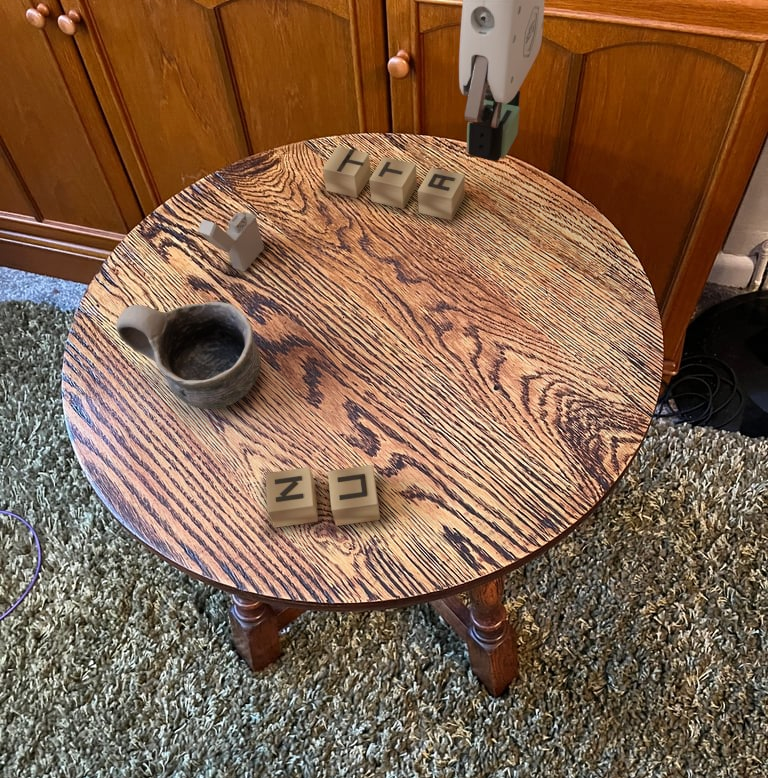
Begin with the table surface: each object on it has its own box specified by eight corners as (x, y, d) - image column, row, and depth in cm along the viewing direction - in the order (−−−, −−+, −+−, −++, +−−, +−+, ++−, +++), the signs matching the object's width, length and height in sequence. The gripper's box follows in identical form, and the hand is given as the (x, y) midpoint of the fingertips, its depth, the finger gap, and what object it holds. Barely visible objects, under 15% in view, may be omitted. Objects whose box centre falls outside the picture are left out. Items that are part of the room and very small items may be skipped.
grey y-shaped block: (252, 242, 86) (234, 181, 79) (265, 246, 86) (248, 186, 79) (216, 285, 83) (194, 226, 76) (229, 290, 83) (209, 231, 76)
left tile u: (375, 481, 70) (372, 463, 67) (380, 519, 68) (377, 503, 66) (332, 487, 70) (327, 470, 68) (336, 526, 68) (331, 509, 66)
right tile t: (417, 186, 88) (416, 162, 86) (403, 209, 87) (402, 186, 84) (385, 178, 89) (383, 155, 87) (371, 201, 88) (368, 178, 85)
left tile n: (315, 483, 71) (309, 465, 68) (318, 521, 69) (313, 505, 66) (272, 489, 71) (265, 472, 68) (274, 528, 69) (267, 511, 66)
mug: (263, 425, 74) (237, 357, 65) (137, 428, 75) (95, 362, 66) (272, 346, 79) (250, 274, 70) (153, 350, 80) (116, 279, 71)
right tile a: (464, 197, 87) (465, 173, 84) (451, 220, 85) (451, 197, 83) (431, 189, 88) (431, 166, 85) (418, 213, 86) (417, 189, 84)
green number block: (517, 134, 78) (520, 105, 75) (504, 159, 76) (506, 131, 73) (480, 126, 79) (481, 97, 76) (466, 150, 77) (467, 122, 74)
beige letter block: (372, 176, 90) (370, 152, 87) (358, 198, 88) (355, 175, 85) (340, 168, 91) (337, 145, 88) (326, 190, 89) (322, 167, 86)
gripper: (516, 3, 57) (500, 205, 73) (582, -111, 63) (554, 98, 80) (421, -14, 59) (426, 188, 75) (496, -122, 65) (486, 84, 81)
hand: (492, 140), depth 77 cm, fingers closed on green number block, 4 cm apart
